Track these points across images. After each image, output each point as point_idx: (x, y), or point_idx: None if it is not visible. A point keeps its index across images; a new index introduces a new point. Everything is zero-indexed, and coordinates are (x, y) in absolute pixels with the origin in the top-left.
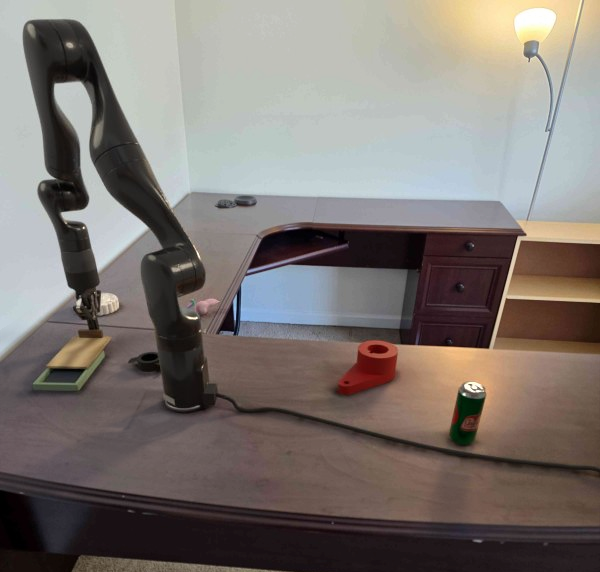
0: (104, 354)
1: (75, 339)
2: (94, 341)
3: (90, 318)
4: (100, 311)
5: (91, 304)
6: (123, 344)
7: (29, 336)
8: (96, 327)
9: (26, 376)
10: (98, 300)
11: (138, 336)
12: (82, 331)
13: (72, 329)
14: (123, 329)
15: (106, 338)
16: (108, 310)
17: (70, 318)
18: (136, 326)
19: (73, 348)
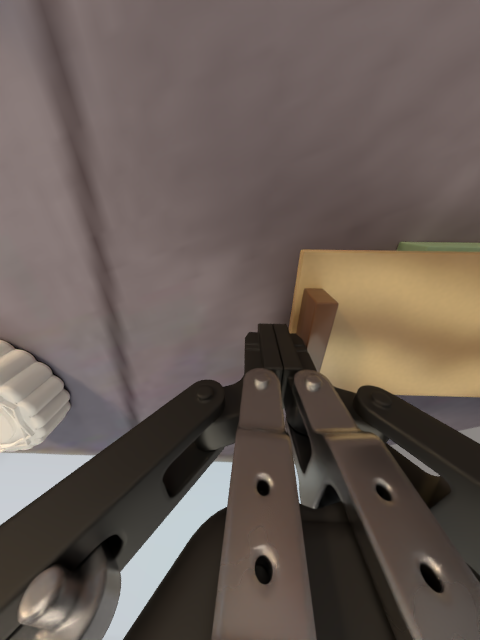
0: (413, 243)
1: None
2: (355, 311)
3: (409, 406)
4: (32, 375)
5: (474, 585)
6: (274, 197)
7: (222, 456)
8: (290, 338)
9: (442, 410)
10: (132, 489)
11: (175, 136)
12: None
13: (167, 402)
14: (119, 252)
15: (330, 266)
16: (3, 355)
17: (104, 422)
18: (65, 195)
19: (403, 365)
